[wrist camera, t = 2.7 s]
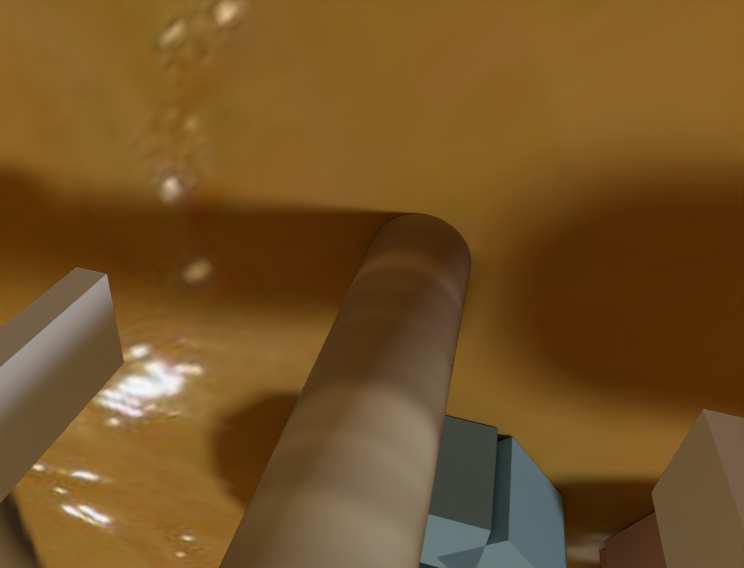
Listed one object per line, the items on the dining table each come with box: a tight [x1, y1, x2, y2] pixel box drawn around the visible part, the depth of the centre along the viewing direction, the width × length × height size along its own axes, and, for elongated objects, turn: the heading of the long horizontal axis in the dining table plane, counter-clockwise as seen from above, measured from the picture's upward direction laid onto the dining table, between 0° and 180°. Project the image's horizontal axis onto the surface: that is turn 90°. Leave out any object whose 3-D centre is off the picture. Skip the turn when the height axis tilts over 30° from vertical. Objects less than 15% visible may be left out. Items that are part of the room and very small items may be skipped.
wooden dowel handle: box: [219, 214, 471, 568], centre depth 11 cm, size 3×3×16 cm
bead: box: [419, 416, 567, 568], centre depth 21 cm, size 10×10×4 cm
